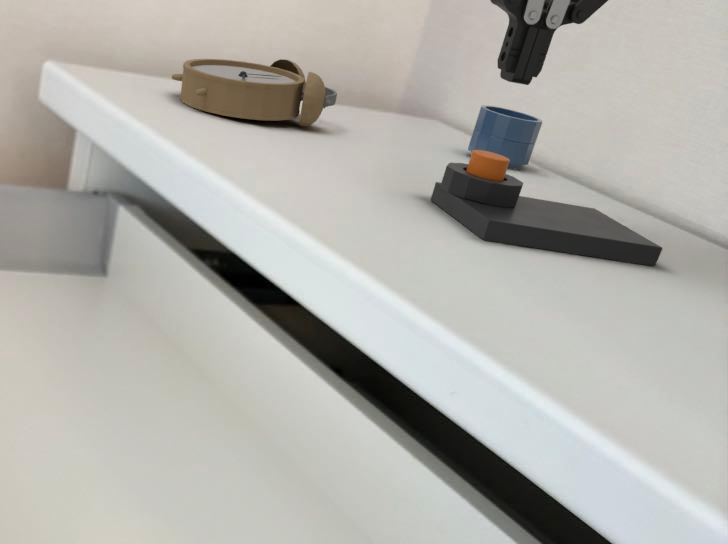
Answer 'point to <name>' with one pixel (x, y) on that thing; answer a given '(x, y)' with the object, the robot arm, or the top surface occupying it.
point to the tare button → (488, 165)
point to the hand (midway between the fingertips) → (514, 81)
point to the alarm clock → (254, 90)
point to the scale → (536, 219)
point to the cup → (505, 134)
